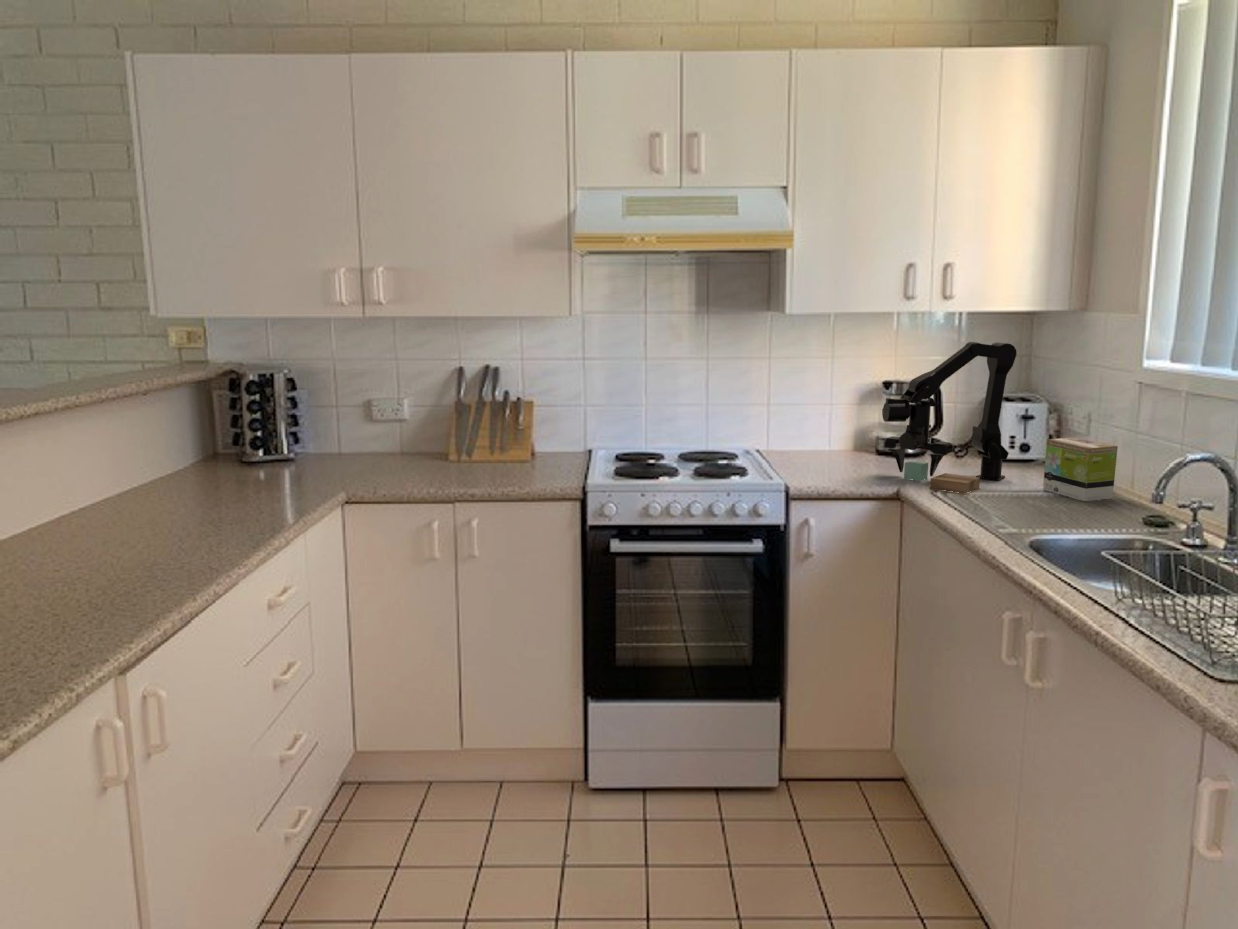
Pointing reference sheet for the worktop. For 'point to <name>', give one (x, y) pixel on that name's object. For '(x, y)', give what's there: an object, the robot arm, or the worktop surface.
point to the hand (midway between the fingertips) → (916, 474)
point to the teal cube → (916, 470)
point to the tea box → (1080, 468)
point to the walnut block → (954, 483)
